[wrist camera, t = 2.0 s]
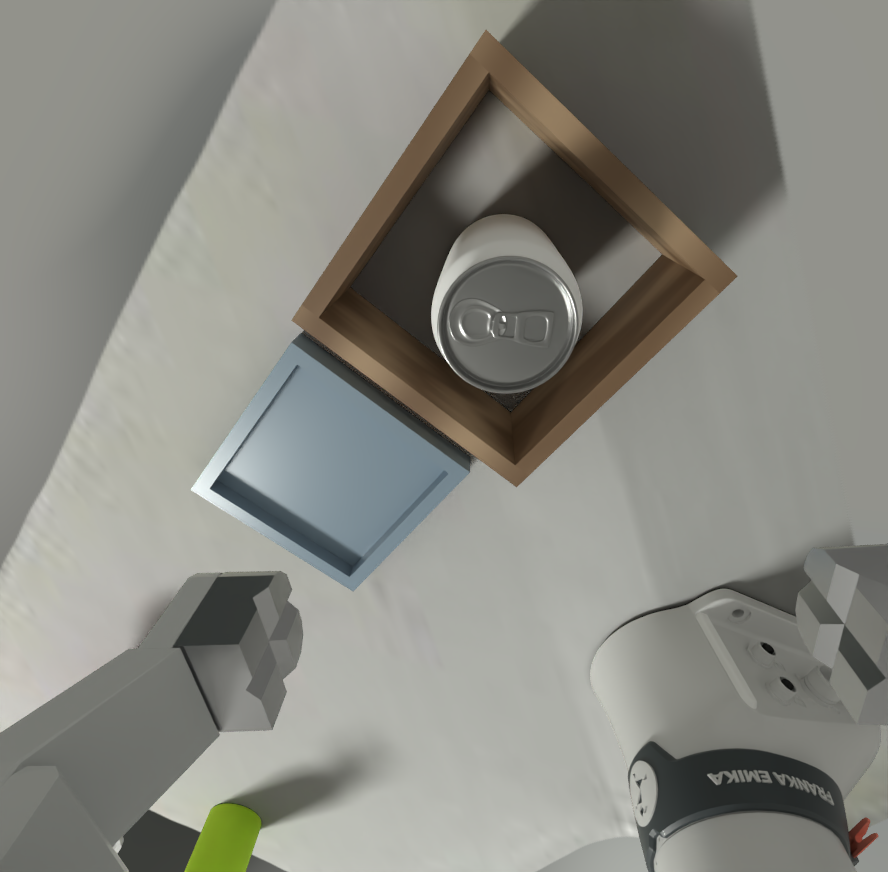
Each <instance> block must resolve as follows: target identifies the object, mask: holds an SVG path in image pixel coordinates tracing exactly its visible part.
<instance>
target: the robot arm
mask: <svg viewBox="0 0 888 872" xmlns="http://www.w3.org/2000/svg"><path fill="white" fill-rule="evenodd" d="M803 570H804V571H805V572H806V574H807V575H808V576H809V578H810V579H811V581H810V582H809V583H808V584H807V585H806V586H805V587H804V588H802V589H801V590H800V591H799V592H798V596H797V602H796V608H795V612H796V617H795V616H793V615H790V614H788V613H786V612H783V611H781V610H778V609H776V608H774V607H771V606H769V605H767V604H764V603H762V602H759V601H757V600H755V599H752V598H750V597H748V596H745V595H743V594H740V593H738V592H736V591H733V590H730V589H718V590H715V591H712V592H710V593H708V594H706V595H703V596H702V597H700V598H698V599H696V600H694V601H693V602H691V603H689V604H687V605H685V606H682V607H678V608H674V609H669V610H664V611H660V612H656V613H652V614H649V615H646V616H644V617H641V618H639V619H636V620H634V621H632V622H630V623H628V624H626V625H625V626H623V627H621V628H620V629H619V630H617V631H616V632H615V633H613V634H612V635H611V636H610V637H609V638H608V639H607V640H606V641H605V642H604V643H603V644H602V645H601V647H600V648H599V650H598V651H597V653H596V655H595V657H594V659H593V662H592V665H591V670H590V681H591V685H592V689H593V691H594V693H595V695H596V697H597V698H598V700H599V702H600V704H601V705H602V707H603V709H604V711H605V713H606V715H607V717H608V719H609V722H610V724H611V726H612V728H613V731H614V733H615V736H616V738H617V741H618V744H619V746H620V749H621V752H622V755H623V758H624V761H625V764H626V767H627V770H628V781H629V788H630V795H631V801H632V806H633V811H634V815H635V820H636V824H637V829H638V833H639V838H640V842H641V846H642V850H643V853H644V857H645V861H646V865H647V868H648V871H649V872H857V871H856V870H855V868H854V866H855V865H856V864H857V863H858V862H859V860H858V858H857V856H858V855H859V854H860V853H861V852H862V851H863V850H865V848H867V847H868V846H869V845H870V844H871V843H872V842H873V841H874V840H875V839H876V838H877V837H878V834H877V833H874V834H871V835H870V836H868V837H867V838H865V839H864V840H862V837H863V836H864V835H865V834H866V832H867V829H868V827H869V824H870V820H869V819H868V818H864V819H862V820H861V821H860V822H859V823H858V824H857V825H856V826H855V827H854V828H853V829H852V830H851V831H849V832H848V825H847V819H846V813H845V808H844V803H843V801H844V800H845V798H846V797H847V796H848V794H849V793H850V792H851V791H852V789H853V788H854V787H855V785H856V784H857V783H858V781H859V780H860V779H861V777H862V776H863V775H864V773H865V772H866V771H867V769H868V768H869V767H870V765H871V763H872V762H873V760H874V759H875V757H876V754H877V752H878V750H879V747H880V743H881V729H880V725H888V544H886V545H883V544H880V545H860V546H840V547H820V548H812V549H811V551H810V552H809V553H808V555H807V556H806V560H805V564H804V569H803ZM291 591H292V588H291V585H290V582H289V579H288V577H287V574H285V573H283V572H281V571H258V572H225V573H197V574H195V575H193V576H191V577H189V578H188V579H187V581H186V582H185V583H184V585H183V586H182V588H181V589H180V590H179V592H178V593H177V595H176V596H175V597H174V599H173V600H172V602H171V603H170V604H169V606H168V607H167V609H166V610H165V611H164V613H163V614H162V616H161V617H160V618H159V620H158V621H157V623H156V624H155V625H154V627H153V628H152V630H151V631H150V632H149V634H148V635H147V637H146V638H145V639H144V641H143V642H142V644H141V645H140V646H139V648H138V649H128V650H126V651H125V652H123V653H122V654H120V655H119V656H117V657H116V658H114V659H113V660H111V661H110V662H108V663H107V664H105V665H104V666H102V667H100V668H99V669H97V670H96V671H94V672H93V673H91V674H90V675H88V676H87V677H85V678H84V679H82V680H81V681H79V682H78V683H76V684H74V685H73V686H71V687H70V688H68V689H67V690H65V691H64V692H62V693H61V694H59V695H58V696H56V697H55V698H53V699H52V700H50V701H48V702H47V703H45V704H44V705H42V706H41V707H39V708H38V709H36V710H35V711H33V712H32V713H30V714H29V715H27V716H26V717H24V718H23V719H21V720H19V721H18V722H16V723H15V724H13V725H12V726H10V727H9V728H7V729H6V730H4V731H3V732H1V733H0V872H129V870H128V869H127V868H126V866H125V865H124V863H123V862H122V860H121V859H120V858H119V856H118V855H117V853H116V852H115V850H114V849H113V846H114V845H115V844H116V843H117V842H118V840H119V839H120V838H121V837H122V836H123V835H124V834H125V833H126V832H127V831H128V830H129V829H130V828H131V827H132V826H133V825H134V824H135V823H136V822H137V821H138V820H139V818H141V817H142V815H143V814H144V813H145V812H146V811H147V810H148V809H149V808H150V807H151V806H152V805H153V804H154V803H155V802H156V801H157V800H158V799H159V798H160V797H161V796H162V795H163V794H164V793H165V792H166V791H167V790H168V788H169V787H170V786H171V785H172V784H173V783H174V782H175V781H176V780H177V779H178V778H179V777H180V776H181V775H182V774H183V773H184V772H185V771H186V770H187V769H188V768H189V767H190V766H191V765H192V764H193V763H194V761H195V760H196V759H197V758H198V757H199V756H200V755H201V754H202V753H203V752H204V751H205V750H206V749H207V748H208V747H209V746H210V745H211V744H212V743H213V742H214V741H215V740H216V739H217V738H218V737H219V735H220V734H219V732H234V731H259V730H272V729H273V727H274V724H275V721H276V719H277V716H278V714H279V711H280V708H281V706H282V703H283V700H284V698H285V695H286V692H287V691H286V689H285V686H284V683H283V679H284V678H285V677H286V676H287V675H288V674H289V673H291V672H292V671H293V670H294V669H295V668H296V666H297V663H298V660H299V657H300V654H301V648H302V640H303V629H302V620H301V617H300V613H299V610H298V609H297V608H295V607H294V606H293V605H292V604H291V603H289V602H288V601H287V600H288V598H289V596H290V593H291Z"/></svg>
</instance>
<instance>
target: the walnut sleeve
mask: <svg viewBox="0 0 888 872" xmlns="http://www.w3.org/2000/svg"><path fill="white" fill-rule="evenodd" d="M488 90H490V91H491V92H492V93H493V94H494V95H495V96H496V97H497V98H498V99H499V100H500V101H501V102H502V103H503V104H504V105H505V106H507V107H508V108H509V109H510V110H511V111H512V112H513V113H514V114H515V115H516V116H517V117H518V118H519V119H520V120H521V121H522V122H523V123H524V124H526V125H527V126H528V127H529V128H530V129H531V130H532V131H533V132H534V133H535V134H536V135H537V136H538V137H539V138H540V139H541V140H542V141H543V142H544V143H546V144H547V145H548V146H549V147H550V148H551V149H552V150H553V151H554V152H555V153H556V154H557V155H558V156H559V157H560V158H561V159H562V160H563V161H565V162H566V163H567V164H568V165H569V166H570V167H571V168H572V169H573V170H574V171H575V172H576V173H577V174H578V175H579V176H580V177H581V178H582V179H584V180H585V181H586V182H587V183H588V184H589V185H590V186H591V187H592V188H593V189H594V190H595V191H596V192H597V193H598V194H599V195H600V196H601V197H602V198H604V199H605V200H606V201H607V202H608V203H609V204H610V205H611V206H612V207H613V208H614V209H615V210H616V211H617V212H618V213H619V214H620V215H621V216H623V217H624V218H625V219H626V220H627V221H628V222H629V223H630V224H631V225H632V226H633V227H634V228H635V229H636V230H637V231H638V232H639V233H640V234H641V235H643V236H644V237H645V238H646V239H647V240H648V241H649V242H650V243H651V244H652V245H653V246H654V247H655V248H656V249H657V250H658V251H659V252H660V253H662V254H663V255H662V256H661V257H660V258H659V259H658V260H657V261H656V262H655V263H654V264H653V265H652V266H651V267H650V268H649V269H648V270H647V271H646V272H645V273H644V274H643V275H642V276H641V277H640V279H639V280H638V281H637V282H636V283H635V284H634V285H633V286H632V287H631V288H630V289H629V290H628V291H627V292H626V293H625V294H624V295H623V296H622V297H621V298H620V299H619V300H618V301H617V302H616V303H615V305H614V306H613V307H612V308H611V309H610V310H609V311H608V312H607V313H606V314H605V315H604V316H603V317H602V318H601V319H600V320H599V321H598V322H597V323H596V324H595V325H594V326H593V327H592V328H591V330H590V331H589V332H588V333H587V334H586V335H585V336H584V337H583V338H582V339H581V340H580V341H579V342H578V343H577V344H576V345H575V346H574V348H573V351H572V353H571V355H570V357H569V358H568V360H567V361H566V363H565V364H564V366H563V367H562V368H561V369H560V370H559V371H558V372H557V373H556V374H555V375H554V376H553V377H552V378H550V379H549V380H548V381H546V382H545V383H543V384H541V385H539V386H537V387H535V388H534V389H533V390H532V391H531V392H530V393H529V394H528V395H527V396H526V397H525V398H524V399H523V400H522V401H521V402H520V403H519V404H518V406H517V407H516V408H515V409H514V410H513V411H512V412H509V411H508V410H507V409H506V408H504V407H503V406H502V405H500V404H499V403H498V402H497V401H495V400H494V399H493V398H491V397H490V396H489V395H488V394H486V393H485V392H484V391H482V390H481V389H479V388H477V387H475V386H473V385H471V384H469V383H468V382H466V381H465V380H463V379H462V378H461V377H460V376H459V375H457V374H456V373H455V371H454V370H453V369H452V368H451V367H450V365H449V364H448V363H447V362H445V361H444V360H443V359H441V358H440V357H439V356H438V355H436V354H435V353H434V352H432V351H431V350H430V349H429V348H427V347H426V346H425V345H423V344H422V343H421V342H420V341H418V340H417V339H416V338H414V337H413V336H412V335H411V334H409V333H408V332H407V331H406V330H404V329H403V328H402V327H400V326H399V325H398V324H397V323H395V322H394V321H393V320H391V319H390V318H389V317H388V316H386V315H385V314H384V313H382V312H381V311H380V310H379V309H377V308H376V307H375V306H373V305H372V304H371V303H370V302H368V301H367V300H366V299H364V298H363V297H362V296H361V295H359V294H358V293H357V292H355V291H354V290H353V289H352V288H350V287H351V285H352V284H353V282H354V281H355V279H356V278H357V277H358V275H359V274H360V272H361V271H362V269H363V268H364V267H365V265H366V264H367V262H368V261H369V260H370V258H371V257H372V255H373V254H374V252H375V251H376V250H377V248H378V247H379V245H380V244H381V242H382V241H383V240H384V238H385V237H386V235H387V234H388V232H389V231H390V230H391V228H392V227H393V225H394V224H395V223H396V221H397V220H398V218H399V217H400V215H401V214H402V213H403V211H404V210H405V208H406V207H407V205H408V204H409V203H410V201H411V200H412V198H413V197H414V195H415V194H416V193H417V191H418V190H419V188H420V187H421V186H422V184H423V183H424V181H425V180H426V178H427V177H428V176H429V174H430V173H431V171H432V170H433V168H434V167H435V166H436V164H437V163H438V161H439V160H440V158H441V157H442V156H443V154H444V153H445V151H446V150H447V149H448V147H449V146H450V144H451V143H452V141H453V140H454V139H455V137H456V136H457V134H458V133H459V131H460V130H461V129H462V127H463V126H464V124H465V123H466V121H467V120H468V119H469V117H470V116H471V114H472V113H473V112H474V110H475V109H476V107H477V106H478V104H479V103H480V102H481V100H482V99H483V97H484V96H485V94H486V93H487V92H488ZM736 277H737V275H736V274H735V273H734V272H733V271H732V270H731V269H730V268H729V267H728V266H727V265H726V264H725V263H724V262H723V261H722V260H721V259H720V258H719V257H718V256H717V255H715V254H714V253H713V252H712V251H711V250H710V249H709V248H708V247H707V246H706V245H705V244H704V243H703V242H702V241H701V240H700V239H699V238H698V237H697V236H696V235H695V234H694V233H693V232H692V231H691V230H690V229H689V228H688V227H687V226H686V225H685V224H684V223H683V222H682V221H681V220H680V219H679V218H678V217H677V216H676V215H675V214H674V213H673V212H672V211H671V210H670V209H669V208H668V207H667V206H666V205H664V204H663V203H662V202H661V201H660V200H659V199H658V198H657V197H656V196H655V195H654V194H653V193H652V192H651V191H650V190H649V189H648V188H647V187H646V186H645V185H644V184H643V183H642V182H641V181H640V180H639V179H638V178H637V177H636V176H635V175H634V174H633V173H632V172H631V171H630V170H629V169H628V168H627V167H626V166H625V165H624V164H623V163H622V162H621V161H620V160H619V159H618V158H617V157H616V156H614V155H613V154H612V153H611V152H610V151H609V150H608V149H607V148H606V147H605V146H604V145H603V144H602V143H601V142H600V141H599V140H598V139H597V138H596V137H595V136H594V135H593V134H592V133H591V132H590V131H589V130H588V129H587V128H586V127H585V126H584V125H583V124H582V123H581V122H580V121H579V120H578V119H577V118H576V117H575V116H574V115H573V114H572V113H571V112H570V111H569V110H568V109H567V108H566V107H565V106H563V105H562V104H561V103H560V102H559V101H558V100H557V99H556V98H555V97H554V96H553V95H552V94H551V93H550V92H549V91H548V90H547V89H546V88H545V87H544V86H543V85H542V84H541V83H540V82H539V81H538V80H537V79H536V78H535V77H534V76H533V75H532V74H531V73H530V72H529V71H528V70H527V69H526V68H525V67H524V66H523V65H522V64H521V63H520V62H519V61H518V60H517V59H516V58H515V57H513V56H512V55H511V54H510V53H509V52H508V51H507V50H506V49H505V48H504V47H503V46H502V45H501V44H500V43H499V42H498V41H497V40H496V39H495V38H494V37H493V36H492V35H491V34H490V33H489V32H488V31H487V30H485V32H484V33H483V35H482V36H481V38H480V39H479V41H478V42H477V44H476V45H475V47H474V48H473V50H472V51H471V53H470V54H469V56H468V57H467V59H466V60H465V62H464V63H463V65H462V66H461V68H460V69H459V71H458V72H457V74H456V75H455V77H454V78H453V80H452V81H451V83H450V84H449V86H448V87H447V89H446V90H445V91H444V93H443V94H442V96H441V97H440V99H439V100H438V102H437V103H436V105H435V106H434V108H433V109H432V111H431V112H430V114H429V115H428V117H427V118H426V120H425V121H424V123H423V124H422V126H421V127H420V129H419V130H418V132H417V133H416V135H415V136H414V138H413V139H412V141H411V142H410V144H409V145H408V147H407V148H406V150H405V151H404V153H403V154H402V156H401V157H400V159H399V160H398V162H397V163H396V165H395V166H394V168H393V169H392V171H391V172H390V174H389V175H388V177H387V178H386V180H385V181H384V183H383V184H382V186H381V187H380V189H379V190H378V192H377V193H376V195H375V196H374V198H373V199H372V201H371V202H370V204H369V205H368V207H367V208H366V210H365V211H364V213H363V214H362V216H361V217H360V219H359V220H358V222H357V223H356V225H355V226H354V228H353V229H352V230H351V232H350V233H349V235H348V236H347V238H346V239H345V241H344V242H343V244H342V245H341V247H340V248H339V250H338V251H337V253H336V254H335V256H334V257H333V259H332V260H331V262H330V263H329V265H328V266H327V268H326V269H325V271H324V272H323V274H322V275H321V277H320V278H319V280H318V281H317V283H316V284H315V286H314V287H313V289H312V290H311V292H310V293H309V295H308V296H307V298H306V299H305V301H304V302H303V304H302V305H301V307H300V308H299V310H298V311H297V313H296V314H295V316H294V317H293V319H292V321H293V322H294V323H296V324H297V325H298V326H300V327H301V328H302V329H304V330H305V331H306V332H308V333H309V334H310V335H312V336H313V337H315V338H316V339H317V340H319V341H320V342H321V343H323V344H324V345H325V346H327V347H328V348H329V349H331V350H332V351H333V352H335V353H336V354H337V355H339V356H340V357H342V358H343V359H344V360H346V361H347V362H348V363H350V364H351V365H352V366H354V367H355V368H356V369H358V370H359V371H360V372H362V373H363V374H365V375H366V376H367V377H369V378H370V379H371V380H373V381H374V382H375V383H377V384H378V385H379V386H381V387H382V388H383V389H385V390H386V391H387V392H389V393H390V394H392V395H393V396H394V397H396V398H397V399H398V400H400V401H401V402H402V403H404V404H405V405H406V406H408V407H409V408H410V409H412V410H413V411H415V412H416V413H417V414H419V415H420V416H421V417H423V418H424V419H425V420H427V421H428V422H429V423H431V424H432V425H433V426H435V427H436V428H437V429H439V430H440V431H442V432H443V433H444V434H446V435H447V436H448V437H450V438H451V439H452V440H454V441H455V442H456V443H458V444H459V445H460V446H462V447H463V448H464V449H466V450H467V451H469V452H470V453H471V454H473V455H474V456H475V457H477V458H478V459H479V460H481V461H482V462H483V463H485V464H486V465H487V466H489V467H490V468H492V469H493V470H494V471H496V472H497V473H498V474H500V475H501V476H502V477H504V478H505V479H506V480H508V481H509V482H510V483H512V484H513V485H514V486H516V487H517V486H518V485H519V484H520V483H522V482H523V481H524V480H525V479H526V478H527V477H528V476H529V475H530V474H531V473H532V472H533V471H534V470H535V469H536V468H537V467H538V466H539V465H540V464H541V463H542V462H544V461H545V460H546V459H547V458H548V457H549V456H550V455H551V454H552V453H553V452H554V451H555V450H556V449H557V448H558V447H559V446H560V445H561V444H562V443H563V442H564V441H566V440H567V439H568V438H569V437H570V436H571V435H572V434H573V433H574V432H575V431H576V430H577V429H578V428H579V427H580V426H581V425H582V424H583V423H584V422H585V421H586V420H588V419H589V418H590V417H591V416H592V415H593V414H594V413H595V412H596V411H597V410H598V409H599V408H600V407H601V406H602V405H603V404H604V403H605V402H606V401H607V400H608V399H610V398H611V397H612V396H613V395H614V394H615V393H616V392H617V391H618V390H619V389H620V388H621V387H622V386H623V385H624V384H625V383H626V382H627V381H628V380H629V379H631V378H632V377H633V376H634V375H635V374H636V373H637V372H638V371H639V370H640V369H641V368H642V367H643V366H644V365H645V364H646V363H647V362H648V361H649V360H650V359H651V358H653V357H654V356H655V355H656V354H657V353H658V352H659V351H660V350H661V349H662V348H663V347H664V346H665V345H666V344H667V343H668V342H669V341H670V340H671V339H672V338H673V337H675V336H676V335H677V334H678V333H679V332H680V331H681V330H682V329H683V328H684V327H685V326H686V325H687V324H688V323H689V322H690V321H691V320H692V319H693V318H694V317H695V316H697V315H698V314H699V313H700V312H701V311H702V310H703V309H704V308H705V307H706V306H707V305H708V304H709V303H710V302H711V301H712V300H713V299H714V298H715V297H716V296H717V295H719V294H720V293H721V292H722V291H723V290H724V289H725V288H726V287H727V286H728V285H729V284H730V283H731V282H732V281H733V280H734V279H735V278H736Z"/></svg>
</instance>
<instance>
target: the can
mask: <svg viewBox="0 0 888 872" xmlns="http://www.w3.org/2000/svg"><path fill="white" fill-rule="evenodd" d="M582 317H583V306H582V298H581V293H580V290H579V286H578V284H577V281H576V279H575V277H574V275H573V273H572V271H571V270H570V268H569V267H568V265H567V263H566V262H565V260H564V259H563V258H562V256H561V255H560V253H559V252H558V250H557V249H556V247H555V246H554V245H553V243H552V242H551V240H550V239H549V238H548V237H547V235H546V234H545V233H544V232H543V231H542V230H541V229H540V228H539V227H538V226H537V225H535V224H534V223H533V222H531V221H529V220H527V219H525V218H523V217H520V216H516V215H511V214H496V215H491V216H487V217H485V218H482V219H480V220H478V221H476V222H474V223H473V224H471V225H470V226H469V227H467V228H466V229H465V230H464V231H463V232H462V233H461V234H460V236H459V237H458V238H457V240H456V241H455V243H454V244H453V246H452V248H451V250H450V252H449V254H448V257H447V259H446V262H445V264H444V267H443V270H442V272H441V275H440V278H439V280H438V283H437V286H436V289H435V292H434V297H433V301H432V308H431V322H432V330H433V334H434V338H435V341H436V343H437V346H438V348H439V350H440V352H441V353H442V355H443V357H444V358H445V359H446V361H447V362H448V364H449V365H450V367H451V368H452V369H453V370H454V371H455V373H456V374H457V375H459V376H460V377H461V378H462V379H463V380H465V381H466V382H468V383H469V384H471V385H473V386H475V387H477V388H479V389H482V390H485V391H488V392H493V393H502V394H510V393H518V392H523V391H527V390H530V389H533V388H535V387H537V386H539V385H541V384H543V383H545V382H546V381H548V380H549V379H550V378H552V377H553V376H554V375H555V374H556V373H557V372H558V371H559V370H560V369H561V368H562V367H563V366H564V364H565V363H566V361H567V360H568V358H569V357H570V355H571V353H572V351H573V348H574V346H575V344H576V341H577V339H578V336H579V333H580V330H581V325H582Z"/></svg>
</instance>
